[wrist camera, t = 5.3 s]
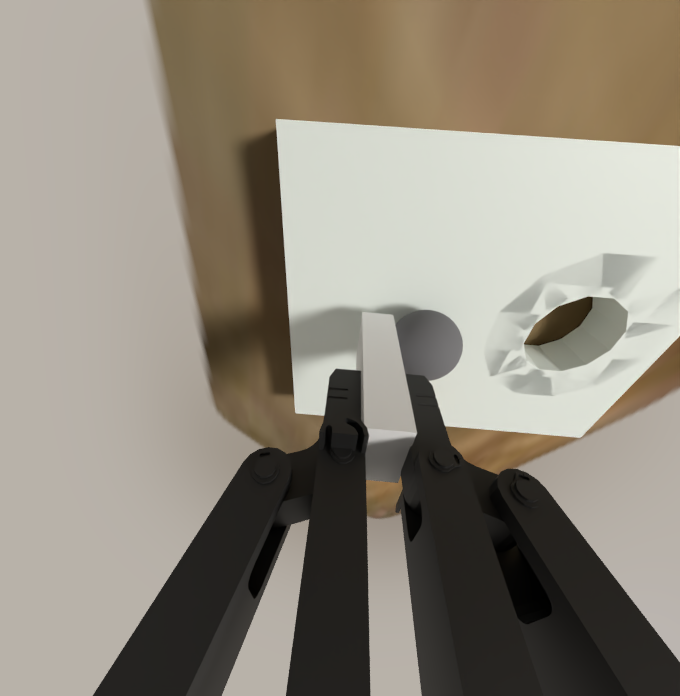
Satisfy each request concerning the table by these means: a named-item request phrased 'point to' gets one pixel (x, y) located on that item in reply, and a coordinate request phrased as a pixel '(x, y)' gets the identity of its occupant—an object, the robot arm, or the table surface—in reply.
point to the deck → (483, 261)
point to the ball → (429, 343)
